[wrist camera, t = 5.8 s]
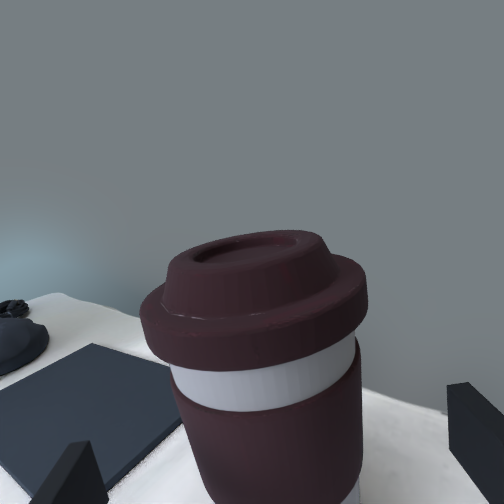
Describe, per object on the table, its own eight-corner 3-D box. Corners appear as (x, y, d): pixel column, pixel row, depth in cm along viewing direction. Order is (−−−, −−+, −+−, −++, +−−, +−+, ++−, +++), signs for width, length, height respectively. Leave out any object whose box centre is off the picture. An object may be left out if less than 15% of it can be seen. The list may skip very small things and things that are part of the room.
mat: (-43, 419, 32) (-46, 413, 32) (93, 347, 43) (91, 342, 43) (63, 532, 19) (60, 524, 19) (219, 387, 30) (218, 381, 30)
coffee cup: (295, 417, 25) (264, 220, 21) (430, 516, 17) (413, 223, 13) (171, 507, 19) (104, 263, 16) (281, 716, 11) (192, 311, 8)
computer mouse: (-39, 395, 36) (-58, 350, 35) (-21, 322, 62) (-32, 295, 61) (57, 357, 42) (44, 317, 40) (37, 304, 67) (28, 279, 66)
